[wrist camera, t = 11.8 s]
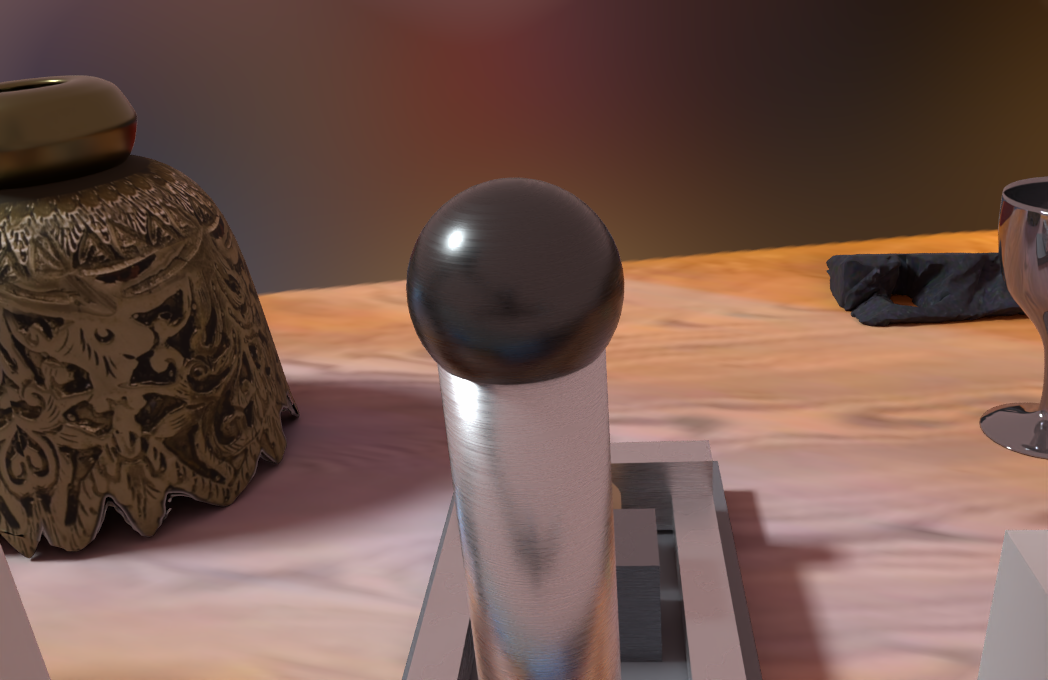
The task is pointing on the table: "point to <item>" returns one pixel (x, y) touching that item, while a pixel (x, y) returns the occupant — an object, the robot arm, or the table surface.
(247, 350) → the lamp shade
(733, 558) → the press bench
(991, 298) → the black crumpled cloth
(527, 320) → the press ram
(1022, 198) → the wine glass
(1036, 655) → the robot arm
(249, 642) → the table surface
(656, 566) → the grey rectangular block
